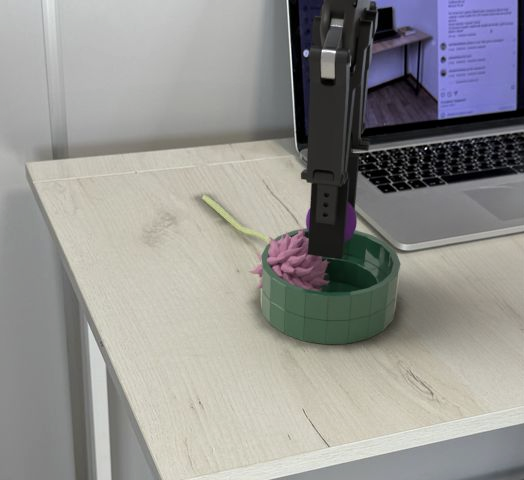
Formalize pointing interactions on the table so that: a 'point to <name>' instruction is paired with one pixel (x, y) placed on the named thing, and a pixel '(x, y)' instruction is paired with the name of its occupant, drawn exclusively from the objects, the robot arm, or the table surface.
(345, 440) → the table surface
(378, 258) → the bowl
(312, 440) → the table surface
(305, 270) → the artificial flower
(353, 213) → the ball
